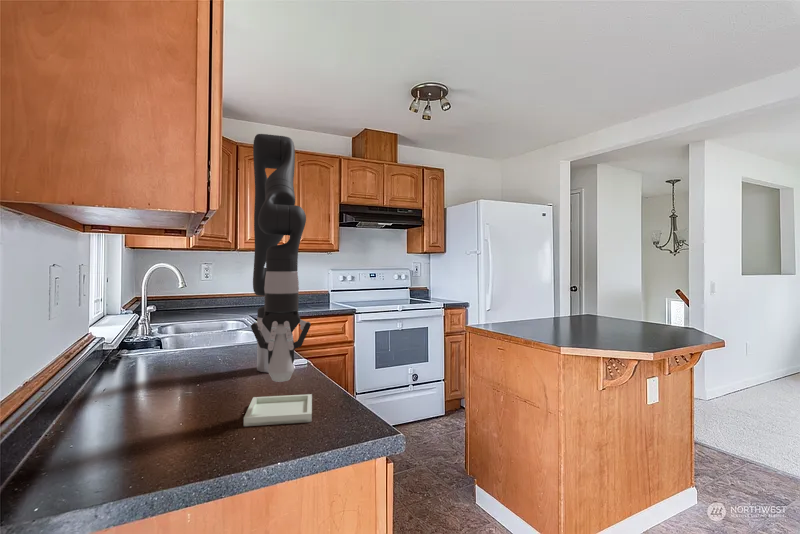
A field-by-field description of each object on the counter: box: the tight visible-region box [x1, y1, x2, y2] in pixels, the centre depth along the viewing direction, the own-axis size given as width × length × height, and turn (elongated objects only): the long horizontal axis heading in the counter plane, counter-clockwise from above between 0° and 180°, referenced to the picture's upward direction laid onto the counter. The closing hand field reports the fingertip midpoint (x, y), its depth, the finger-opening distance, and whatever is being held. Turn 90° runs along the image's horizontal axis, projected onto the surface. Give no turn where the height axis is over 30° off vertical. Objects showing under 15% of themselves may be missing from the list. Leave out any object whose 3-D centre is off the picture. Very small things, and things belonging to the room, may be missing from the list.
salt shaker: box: [267, 324, 295, 383], centre depth 95 cm, size 6×6×13 cm
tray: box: [243, 393, 313, 427], centre depth 95 cm, size 14×14×2 cm
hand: (281, 365), depth 95 cm, fingers closed on salt shaker, 3 cm apart
